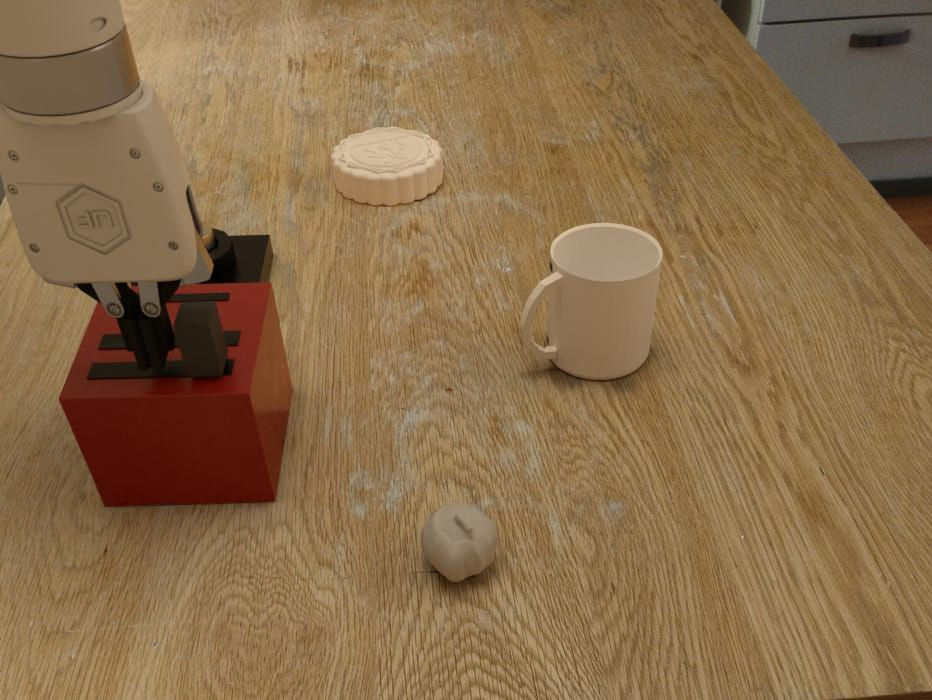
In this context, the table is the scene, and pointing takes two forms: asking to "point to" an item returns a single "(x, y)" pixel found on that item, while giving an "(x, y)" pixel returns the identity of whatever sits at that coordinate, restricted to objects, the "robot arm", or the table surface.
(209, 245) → the button
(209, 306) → the toaster slider
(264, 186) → the table surface
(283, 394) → the toaster
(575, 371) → the mug
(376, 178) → the mooncake
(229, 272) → the button block
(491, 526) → the garlic
